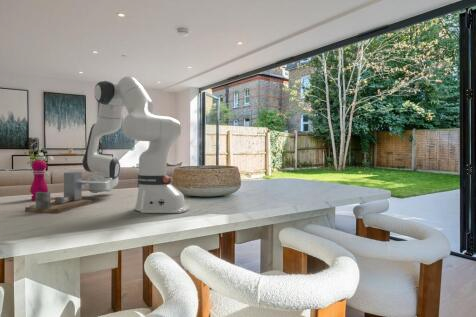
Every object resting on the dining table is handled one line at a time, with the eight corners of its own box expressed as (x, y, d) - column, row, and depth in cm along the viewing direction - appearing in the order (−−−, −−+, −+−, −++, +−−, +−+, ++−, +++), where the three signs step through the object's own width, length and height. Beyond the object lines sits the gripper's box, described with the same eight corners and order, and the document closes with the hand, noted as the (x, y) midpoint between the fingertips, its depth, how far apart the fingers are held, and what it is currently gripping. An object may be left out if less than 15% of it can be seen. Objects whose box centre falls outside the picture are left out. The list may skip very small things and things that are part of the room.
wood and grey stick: (64, 202, 137) (64, 197, 137) (61, 203, 136) (61, 197, 136) (44, 202, 138) (44, 196, 138) (41, 202, 137) (41, 196, 137)
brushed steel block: (81, 199, 147) (81, 172, 147) (67, 202, 138) (67, 174, 137) (71, 198, 148) (71, 172, 148) (56, 202, 138) (56, 173, 138)
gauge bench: (91, 203, 147) (91, 186, 147) (58, 213, 126) (58, 193, 125) (62, 202, 149) (62, 185, 149) (25, 211, 128) (25, 192, 127)
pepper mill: (39, 201, 151) (39, 157, 150) (26, 200, 152) (26, 157, 152) (51, 198, 158) (51, 156, 157) (38, 197, 160) (38, 156, 159)
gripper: (76, 176, 164) (57, 179, 150) (115, 178, 161) (99, 180, 148) (76, 189, 164) (57, 193, 151) (115, 190, 162) (99, 194, 148)
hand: (78, 187), depth 149 cm, fingers closed
